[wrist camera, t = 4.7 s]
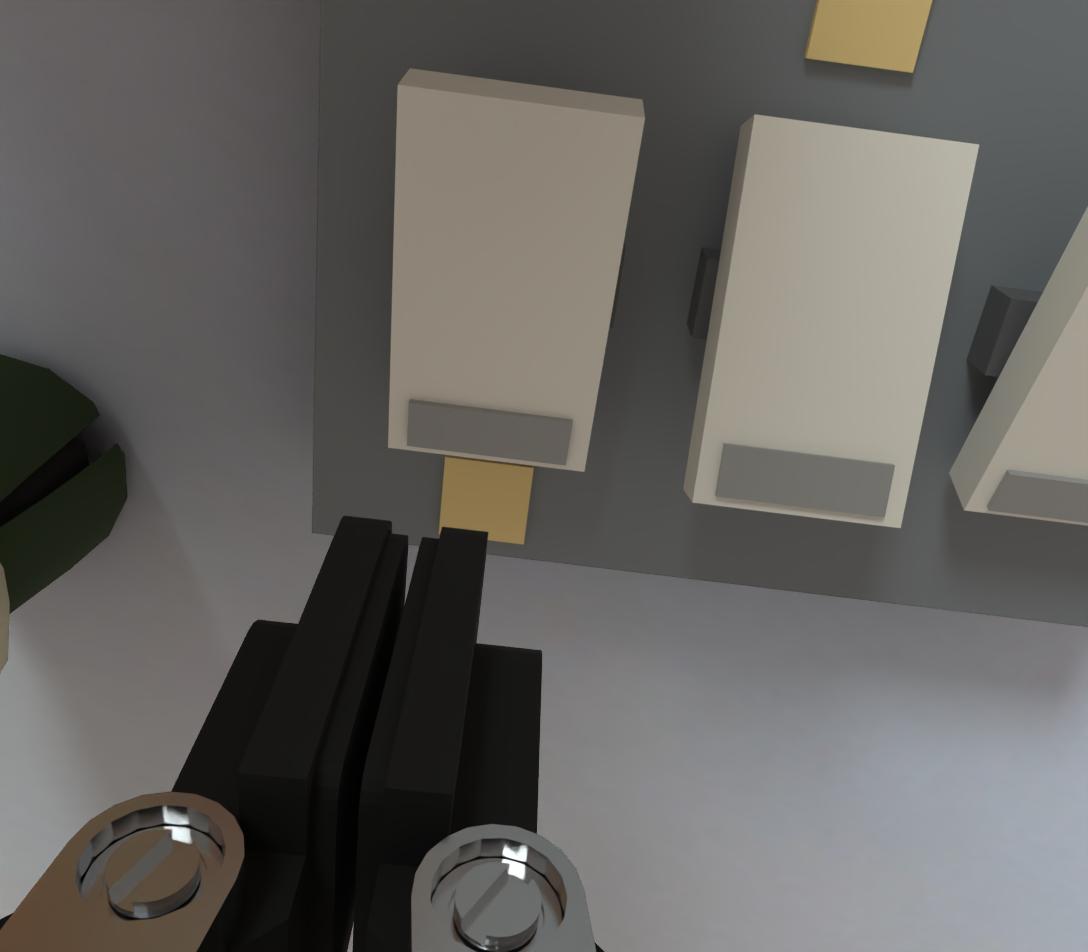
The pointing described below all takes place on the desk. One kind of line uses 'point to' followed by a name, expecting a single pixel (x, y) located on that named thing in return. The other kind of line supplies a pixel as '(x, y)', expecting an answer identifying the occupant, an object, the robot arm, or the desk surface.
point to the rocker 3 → (1037, 410)
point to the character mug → (48, 484)
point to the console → (713, 275)
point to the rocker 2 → (826, 319)
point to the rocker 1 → (505, 264)
